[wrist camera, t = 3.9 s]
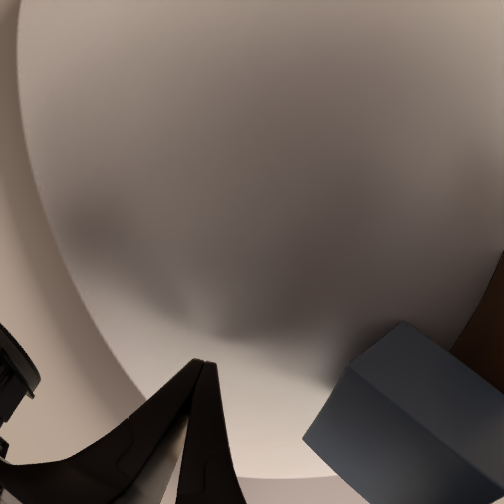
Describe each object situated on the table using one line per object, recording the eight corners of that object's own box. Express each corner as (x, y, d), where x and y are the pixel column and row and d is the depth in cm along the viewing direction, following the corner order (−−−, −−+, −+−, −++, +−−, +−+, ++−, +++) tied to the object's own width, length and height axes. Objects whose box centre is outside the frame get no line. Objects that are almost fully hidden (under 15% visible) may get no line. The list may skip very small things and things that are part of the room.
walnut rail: (384, 429, 12) (392, 486, 9) (504, 248, 7) (566, 310, 3) (410, 427, 12) (420, 480, 9) (527, 257, 7) (582, 312, 3)
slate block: (301, 396, 11) (296, 556, 4) (337, 312, 9) (369, 555, 2) (427, 395, 11) (458, 516, 4) (479, 323, 8) (548, 462, 2)
